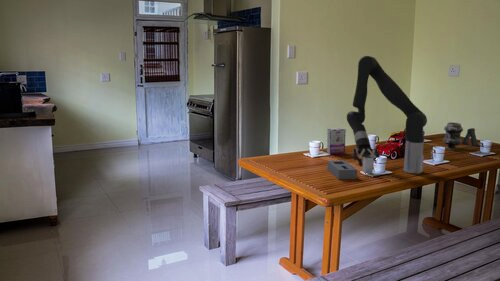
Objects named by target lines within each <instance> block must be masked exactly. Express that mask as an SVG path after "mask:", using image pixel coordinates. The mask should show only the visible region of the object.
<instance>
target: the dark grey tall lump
mask: <svg viewBox="0 0 500 281" xmlns="http://www.w3.org/2000/svg"><path fill="white" fill-rule="evenodd" d="M444 131H445V134H444V137H443V138H442V142H443V143H444V144H446V146H444V147H445V150H449V151H459V150H460V148H459V147H457V146H458V145H462V142H463V140H462V139H461V134H462V133H463V131H464V128H463V127H462V124H461V123H459V122H450V121H449V122H447V124H446V125H445V126H444Z"/></svg>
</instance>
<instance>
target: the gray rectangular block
mask: <svg viewBox="0 0 500 281" xmlns="http://www.w3.org/2000/svg"><path fill="white" fill-rule="evenodd" d="M362 158H363V160H362V164H363V165H362V173H363V172H364V173H365V175H367V174H366V173H372V172H374V171H373V168H374V161H373V158H372V157H371V156H364V157H363V156H362ZM364 173H363V174H364ZM372 174H373V173H372Z"/></svg>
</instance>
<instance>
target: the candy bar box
mask: <svg viewBox="0 0 500 281" xmlns="http://www.w3.org/2000/svg"><path fill="white" fill-rule="evenodd" d="M346 133H347V132H346V129H345V128H343V127H342V128H340V127H339V128H328V129H327V132H326V134H327V139H326V142H327V143H326V144H327V145H326V154H328V153H329V154H328V155H337V154H338V155H340V154H346Z"/></svg>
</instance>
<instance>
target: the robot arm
mask: <svg viewBox="0 0 500 281" xmlns="http://www.w3.org/2000/svg"><path fill="white" fill-rule="evenodd" d="M357 64H358V65H357V77H356V78H357V80H356V88H355V93H354V96H353V100H352V106H353V107H354V108H356V109H357V111H355V110H354V111H352V110H351V111H349V112H347V114H346V121H347V123H348V126H349V127H350V128H351V130H352V132H353V137H354V142H355V145H356V148H353V149H352V155H353V160H354V161H357V163H358V165H359V167H363V160H362V158H363V157H364V156H371V157H372V158H373V162H374V161H375V159H376V158H377V157H379V158H380V154H379V151H378V148H377V147H376V148H373V149H372V147H371V142H370V139H369V135H368V133H367V130H366V127H365V124H364V122H365V121H366V120H365V119H366V102H367V97H368V84H369V83H368V81H369V77H371V78H372V79H373V81H374V82H375V83H376V85H377V87H378V89H379V91H380V92H381V94H382V95H383V96H384V97H385V99H386V100H387V101H388V102H389V103H390V104H392V105H393V106H395V107H396V108H398V109H399V110H400V111H401V112H403V114H404V115H405V116H406V119H405V131H404V133H405V150H404V162H403V172H405V173H408V174H419V175H420V174H421V173H422V172H423V169H424V158H425V155H424V146H425V145H424V143H425V136H424V127H425V126H426V125H427V123H428V118H427V115H425V113H424V112H423V111H421V110H420V109H419V108H418V107H417V106H416V105H415V104H414V103H413V101H411V99H410V98H409V97H408V96H407V94H406V93H405V91H403V89H402V88H401V87H400V86H399V85H398V84H397V83H396V81H395V80H394V79H393V78H391V76H390V75H389V74H387V73H386V71H385V70H384V69H383V67H382V66H381V65H380V63H379V62H378V60H377V59H376V58H375V57H373V56H371V55H370V56H369V55H364V56H362V57H360V59H359V61H358V63H357ZM357 153H358V154H359V156H358V154H357Z"/></svg>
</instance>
